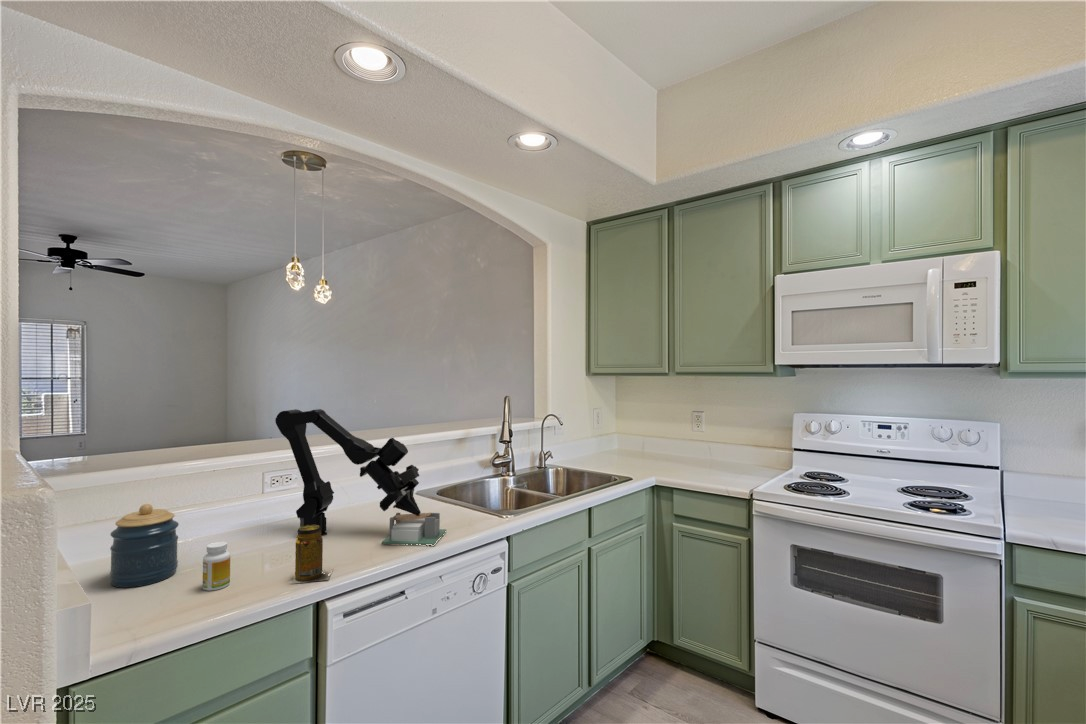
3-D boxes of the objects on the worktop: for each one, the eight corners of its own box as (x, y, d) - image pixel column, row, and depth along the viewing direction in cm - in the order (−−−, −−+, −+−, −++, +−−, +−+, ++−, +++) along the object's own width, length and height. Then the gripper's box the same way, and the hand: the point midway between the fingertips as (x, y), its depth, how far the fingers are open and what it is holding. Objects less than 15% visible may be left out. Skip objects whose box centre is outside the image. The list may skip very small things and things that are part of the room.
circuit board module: (381, 544, 145) (381, 520, 145) (398, 530, 158) (398, 508, 158) (433, 546, 144) (434, 521, 144) (446, 531, 157) (446, 509, 157)
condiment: (297, 572, 125) (297, 524, 126) (333, 569, 127) (334, 521, 128) (290, 584, 118) (290, 533, 118) (328, 581, 120) (329, 530, 120)
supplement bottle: (234, 581, 120) (235, 540, 120) (221, 591, 114) (221, 548, 115) (211, 581, 120) (212, 540, 120) (197, 591, 114) (197, 548, 114)
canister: (107, 576, 122) (108, 503, 122) (172, 562, 131) (174, 494, 131) (112, 594, 113) (113, 515, 113) (182, 577, 122) (183, 504, 122)
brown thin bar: (391, 517, 150) (428, 515, 149) (395, 514, 153) (432, 512, 153) (391, 520, 150) (429, 518, 149) (395, 517, 153) (432, 515, 153)
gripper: (390, 463, 143) (428, 503, 142) (413, 453, 161) (446, 488, 160) (363, 491, 143) (400, 531, 142) (389, 477, 162) (422, 512, 161)
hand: (419, 514), depth 151 cm, fingers closed, pressing on brown thin bar
